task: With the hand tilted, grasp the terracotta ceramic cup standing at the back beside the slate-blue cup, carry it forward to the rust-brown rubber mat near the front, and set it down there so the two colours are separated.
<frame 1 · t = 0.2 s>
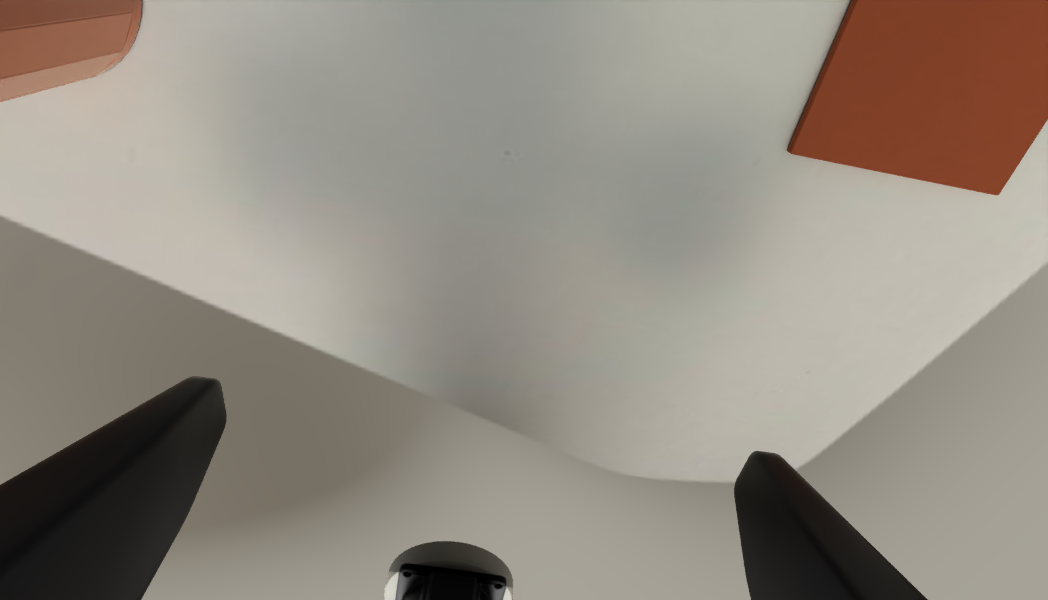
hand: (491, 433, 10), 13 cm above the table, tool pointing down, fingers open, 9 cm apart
rust mat: (952, 55, 19), on the table
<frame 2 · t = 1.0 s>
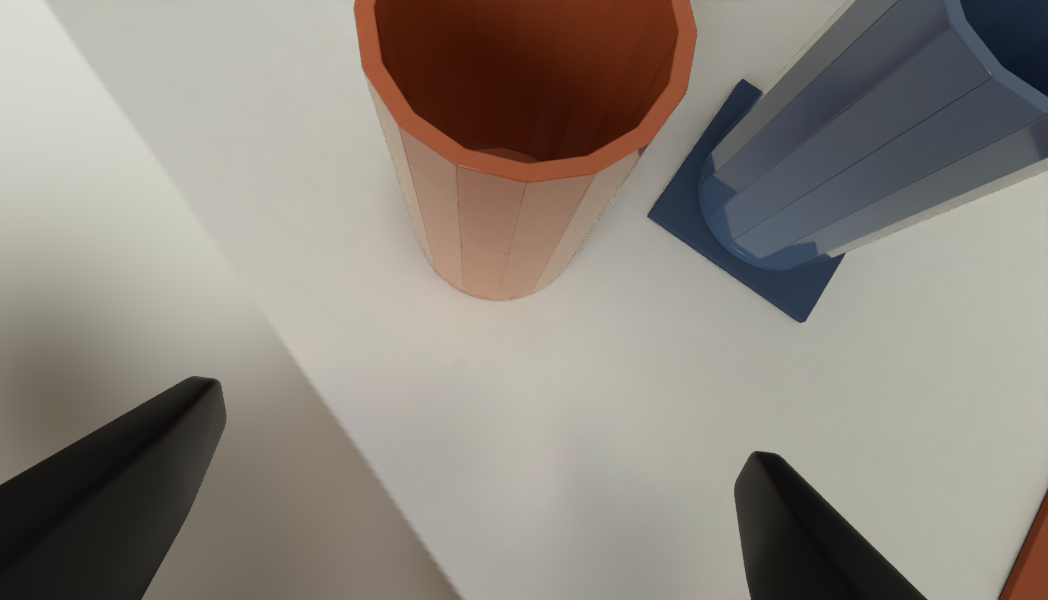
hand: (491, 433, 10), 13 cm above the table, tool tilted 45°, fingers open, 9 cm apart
blue mat: (768, 198, 26), on the table
terracotta cup: (498, 221, 24), on the table
blue cup: (772, 195, 25), resting on blue mat
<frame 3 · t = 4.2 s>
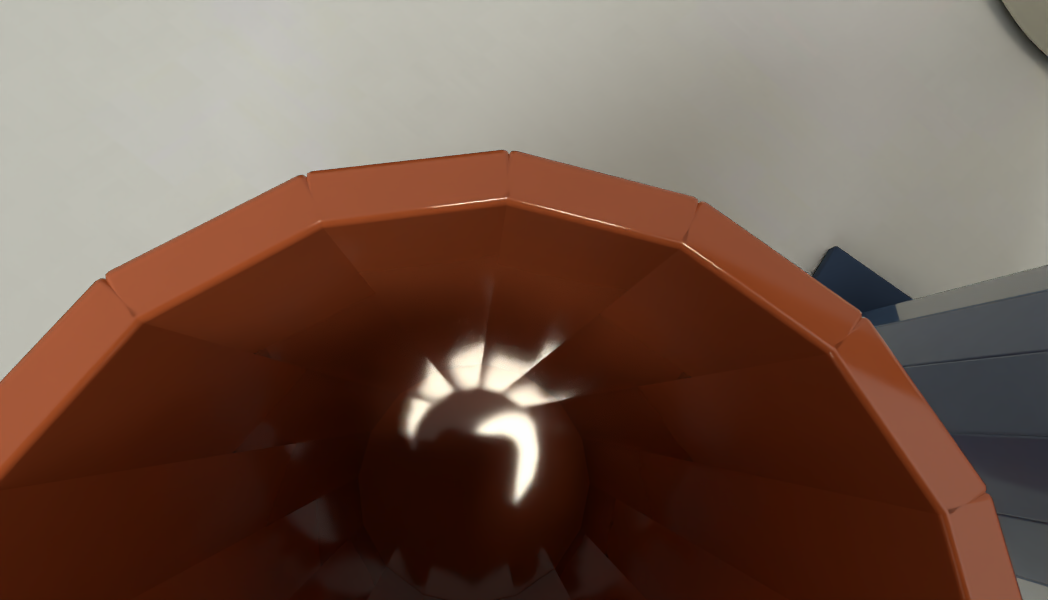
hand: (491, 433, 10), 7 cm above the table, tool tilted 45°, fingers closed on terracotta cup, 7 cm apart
blue mat: (877, 429, 17), on the table
terracotta cup: (475, 477, 16), on the table, touching gripper
blue cup: (886, 429, 17), resting on blue mat
when the fingers open (7 cm above the table, at t = 13.1 s): terracotta cup stays where it is, resting on rust mat.
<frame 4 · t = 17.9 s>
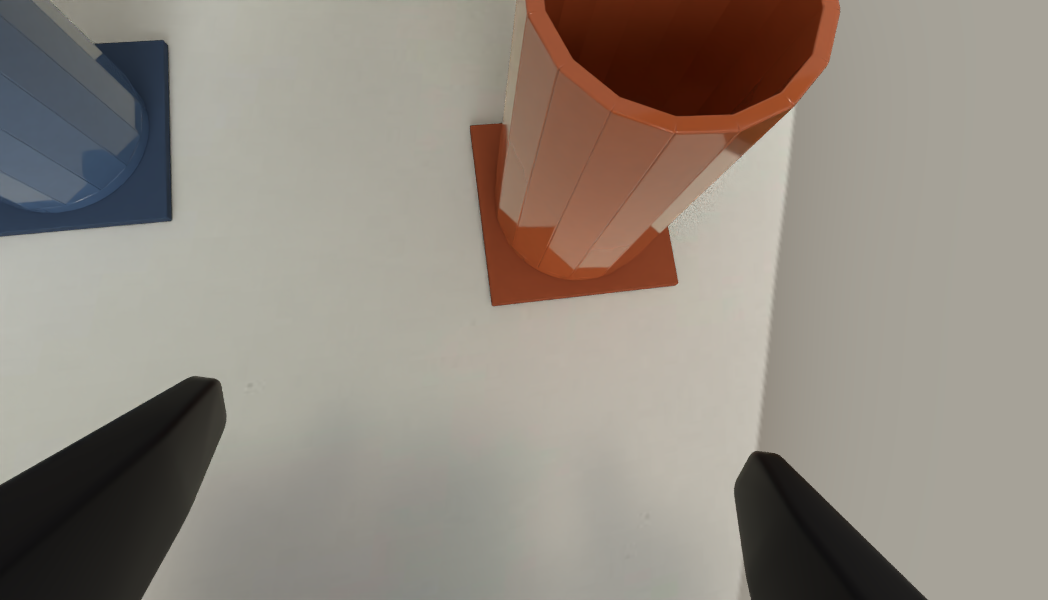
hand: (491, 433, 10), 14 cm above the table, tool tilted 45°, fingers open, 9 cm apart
blue mat: (67, 138, 24), on the table
terracotta cup: (574, 203, 25), resting on rust mat
rust mat: (571, 206, 25), on the table
blue cup: (60, 133, 23), resting on blue mat
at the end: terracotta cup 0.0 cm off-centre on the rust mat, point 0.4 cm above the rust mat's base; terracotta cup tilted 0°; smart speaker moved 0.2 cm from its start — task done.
